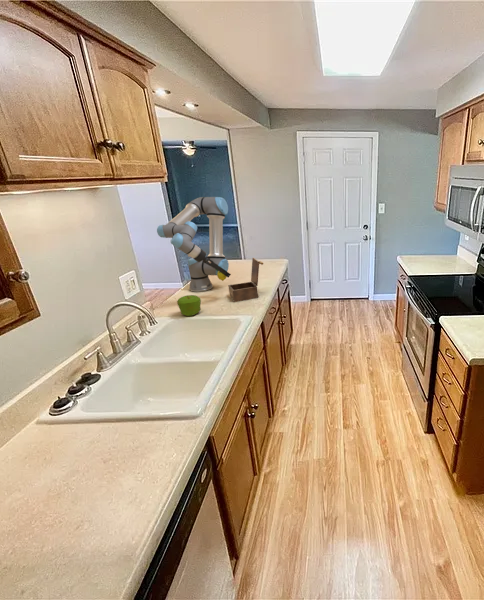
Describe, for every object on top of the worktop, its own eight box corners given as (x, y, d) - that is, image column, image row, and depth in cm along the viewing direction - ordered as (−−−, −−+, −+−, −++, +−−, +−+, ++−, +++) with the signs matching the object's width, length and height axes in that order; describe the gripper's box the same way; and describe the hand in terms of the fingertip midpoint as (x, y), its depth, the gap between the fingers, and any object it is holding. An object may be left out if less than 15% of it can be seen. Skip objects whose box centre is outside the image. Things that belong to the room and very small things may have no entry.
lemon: (217, 279, 215) (215, 265, 211) (226, 278, 217) (224, 264, 213) (217, 282, 209) (215, 267, 206) (227, 281, 211) (225, 266, 208)
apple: (204, 314, 192) (201, 296, 188) (181, 319, 186) (177, 301, 182) (200, 308, 202) (197, 291, 198) (178, 312, 195) (174, 294, 191)
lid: (258, 261, 212) (265, 262, 215) (252, 257, 223) (259, 258, 226) (256, 286, 217) (263, 286, 219) (250, 280, 227) (257, 281, 230)
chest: (234, 302, 212) (232, 290, 209) (229, 296, 223) (228, 285, 220) (258, 297, 220) (257, 286, 217) (252, 292, 231) (251, 281, 228)
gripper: (188, 255, 205) (217, 275, 221) (198, 261, 190) (229, 282, 206) (195, 246, 207) (224, 266, 222) (206, 251, 192) (236, 273, 207)
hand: (226, 274), depth 214 cm, fingers closed on lemon, 8 cm apart
